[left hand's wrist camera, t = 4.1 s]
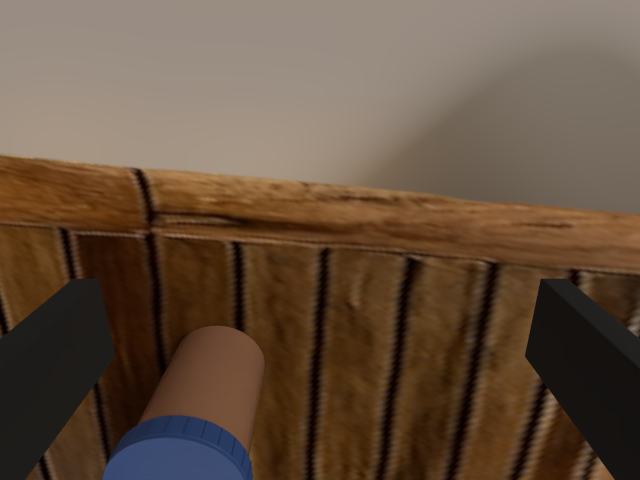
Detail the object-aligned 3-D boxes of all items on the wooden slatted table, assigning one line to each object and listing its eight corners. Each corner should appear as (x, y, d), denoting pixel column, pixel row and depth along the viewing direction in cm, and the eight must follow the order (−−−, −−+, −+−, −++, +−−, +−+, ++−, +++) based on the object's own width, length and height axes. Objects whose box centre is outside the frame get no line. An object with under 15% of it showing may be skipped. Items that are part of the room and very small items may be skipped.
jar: (156, 356, 47) (84, 478, 33) (224, 308, 45) (179, 418, 31) (216, 413, 50) (174, 548, 36) (283, 371, 48) (267, 497, 33)
